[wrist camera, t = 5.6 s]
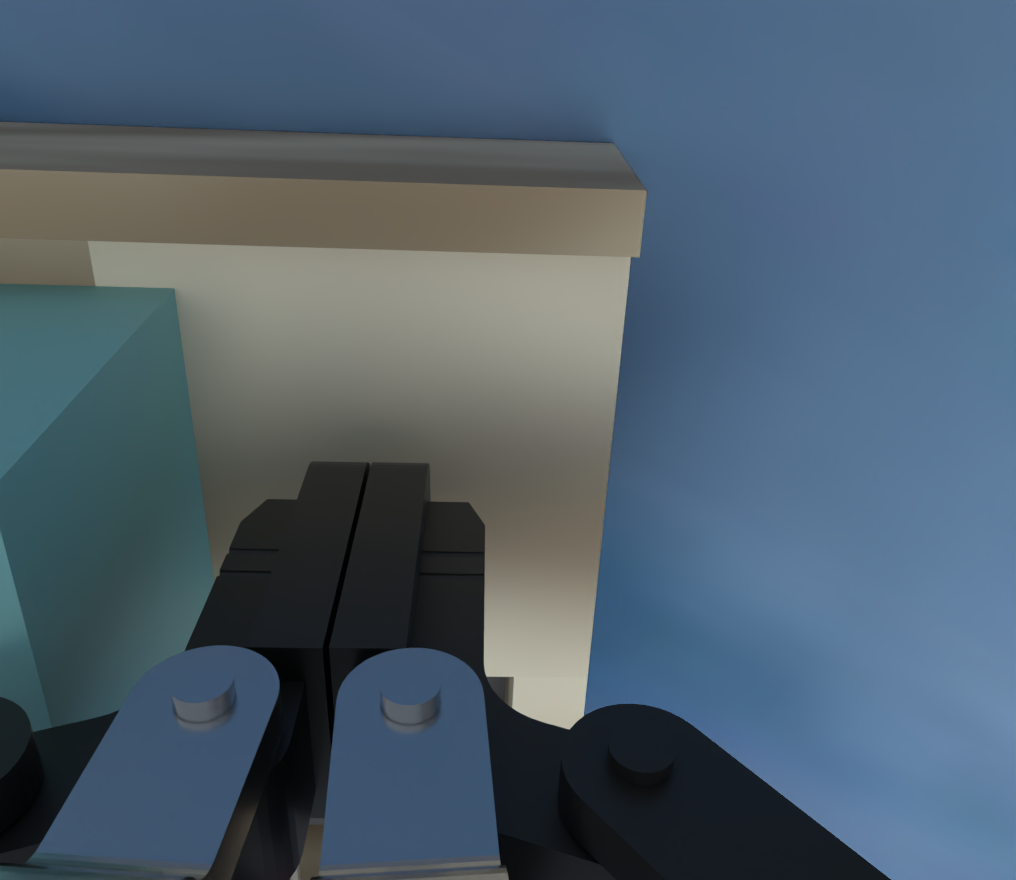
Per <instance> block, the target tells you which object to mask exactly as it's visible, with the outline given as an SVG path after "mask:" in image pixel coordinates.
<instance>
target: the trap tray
mask: <svg viewBox="0 0 1016 880" xmlns="http://www.w3.org/2000/svg"><path fill="white" fill-rule="evenodd" d="M646 194H647V190H646V188H645V187H644V186H643V184H642V183H641V181H640V180H639V178H638V177H637V176H636V174H635V173H634V171H633V170H632V168H631V167H630V166H629V164H628V163H627V161H626V160H625V158H624V157H623V156H622V154H621V153H620V151H619V150H618V148H617V147H616V146H615V144H614V143H594V142H566V141H538V140H509V139H481V138H452V137H424V136H395V135H367V134H338V133H310V132H282V131H253V130H225V129H196V128H168V127H139V126H111V125H83V124H54V123H26V122H0V284H35V285H72V286H108V287H144V288H174V291H175V298H176V305H177V313H178V320H179V327H180V334H181V342H182V349H183V356H184V364H185V371H186V378H187V386H188V393H189V400H190V407H191V415H192V422H193V429H194V437H195V444H196V451H197V459H198V466H199V473H200V480H201V488H202V495H203V502H204V510H205V517H206V524H207V532H208V539H209V546H210V554H211V561H212V568H213V575H214V582H215V579H216V577H217V576H219V574H220V571H219V570H220V568H221V566H222V563H223V561H224V559H225V556H226V554H229V547H230V545H231V543H232V540H233V538H234V536H235V533H236V531H237V529H238V527H239V524H240V522H241V521H242V520H243V519H244V518H246V517H247V516H248V515H249V514H250V513H251V512H253V511H254V510H255V509H256V508H257V507H259V506H260V505H261V504H262V503H263V502H264V501H266V500H267V499H297V498H298V495H299V492H300V489H301V486H302V483H303V480H304V478H305V475H306V472H307V469H308V466H309V464H310V462H312V461H328V462H369V464H370V467H371V464H372V462H394V463H429V465H430V497H431V502H469V503H470V505H471V506H472V507H473V509H474V510H475V512H476V513H477V514H478V516H479V517H480V519H481V520H482V522H483V523H484V524H485V594H484V669H485V674H486V677H487V680H488V682H489V684H490V686H491V687H492V689H493V690H494V692H495V693H496V694H497V695H498V696H499V698H500V699H502V700H503V701H504V702H505V703H506V704H507V705H508V706H510V707H511V708H513V709H515V710H516V711H518V712H519V713H521V714H523V715H525V716H528V717H530V718H532V719H535V720H538V721H541V722H544V723H547V724H551V725H555V726H558V727H562V728H566V729H569V730H570V729H571V727H572V726H573V725H574V724H575V723H576V722H577V721H578V720H579V719H581V718H582V717H583V716H584V707H585V697H586V687H587V678H588V668H589V658H590V649H591V639H592V629H593V620H594V610H595V600H596V591H597V581H598V571H599V562H600V552H601V542H602V533H603V523H604V513H605V504H606V494H607V484H608V475H609V465H610V455H611V446H612V436H613V426H614V417H615V407H616V397H617V388H618V378H619V368H620V359H621V349H622V339H623V330H624V320H625V310H626V301H627V291H628V281H629V272H630V262H631V257H640V250H641V241H642V231H643V222H644V213H645V203H646ZM324 820H325V818H310V821H309V826H308V831H307V835H306V840H305V845H304V850H303V854H302V857H301V860H300V864H301V878H302V880H310V879H311V877H318V874H319V868H320V861H321V851H322V841H323V830H324Z"/></svg>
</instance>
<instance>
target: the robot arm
mask: <svg viewBox="0 0 1016 880" xmlns="http://www.w3.org/2000/svg"><path fill="white" fill-rule="evenodd" d="M219 571H220V574H219V576H217V577H216V579H215V582H214V584H213V586H212V589H211V591H210V593H209V596H208V598H207V600H206V603H205V605H204V607H203V609H202V612H201V614H200V616H199V619H198V621H197V623H196V626H195V628H194V630H193V632H192V635H191V637H190V639H189V642H188V644H187V646H186V649H185V651H184V652H182V653H179V654H176V655H174V656H172V657H170V658H167V659H166V660H164V661H162V662H160V663H159V664H157V665H155V666H154V667H153V668H152V669H150V670H149V671H148V672H146V673H145V674H144V675H143V676H142V677H141V678H140V679H139V680H138V681H137V683H136V684H135V686H134V687H133V688H132V690H131V692H130V693H129V695H128V697H127V698H126V700H125V702H124V703H123V705H122V707H121V708H120V710H118V711H115V712H113V713H110V714H107V715H103V716H100V717H96V718H92V719H88V720H84V721H79V722H75V723H70V724H66V725H61V726H57V727H52V728H48V729H44V730H39V731H35V732H33V730H32V727H31V723H30V720H29V718H28V716H27V713H26V712H25V711H24V710H23V709H22V707H21V706H19V705H18V704H16V703H15V702H13V701H11V700H8V699H6V698H3V697H0V880H302V878H301V864H300V860H301V857H302V854H303V850H304V845H305V840H306V835H307V831H308V826H309V821H310V818H325V820H324V830H323V841H322V851H321V861H320V868H319V874H318V877H311V879H310V880H891V879H889V878H888V877H887V876H886V875H884V874H883V873H882V872H880V871H879V870H878V869H877V868H875V867H874V866H873V865H871V864H870V863H869V862H867V861H866V860H865V859H864V858H862V857H861V856H860V855H858V854H857V853H856V852H855V851H853V850H852V849H851V848H849V847H848V846H847V845H846V844H844V843H843V842H842V841H840V840H839V839H838V838H837V837H835V836H834V835H833V834H831V833H830V832H829V831H828V830H826V829H825V828H824V827H822V826H821V825H820V824H819V823H817V822H816V821H815V820H813V819H812V818H811V817H810V816H808V815H807V814H806V813H804V812H803V811H802V810H801V809H799V808H798V807H797V806H795V805H794V804H793V803H792V802H790V801H789V800H788V799H786V798H785V797H784V796H783V795H781V794H780V793H779V792H777V791H776V790H775V789H773V788H772V787H771V786H770V785H768V784H767V783H766V782H764V781H763V780H762V779H761V778H759V777H758V776H757V775H755V774H754V773H753V772H752V771H750V770H749V769H748V768H746V767H745V766H744V765H743V764H741V763H740V762H739V761H737V760H736V759H735V758H734V757H732V756H731V755H730V754H728V753H727V752H726V751H725V750H723V749H722V748H721V747H719V746H718V745H717V744H716V743H714V742H713V741H712V740H710V739H709V738H708V737H707V736H705V735H704V734H703V733H701V732H700V731H699V730H698V729H696V728H695V727H694V726H692V725H691V724H689V723H688V722H686V721H685V720H683V719H682V718H680V717H678V716H676V715H674V714H672V713H670V712H667V711H665V710H662V709H659V708H655V707H651V706H646V705H638V704H618V705H611V706H606V707H603V708H600V709H597V710H594V711H592V712H590V713H588V714H586V715H585V716H584V717H582V718H581V719H579V720H578V721H577V722H576V723H575V724H574V725H573V726H572V727H571V729H570V730H569V729H566V728H562V727H558V726H555V725H551V724H547V723H544V722H541V721H538V720H535V719H532V718H530V717H528V716H525V715H523V714H521V713H519V712H518V711H516V710H515V709H513V708H511V707H510V706H508V705H507V704H506V703H505V702H504V701H503V700H502V699H500V698H499V696H498V695H497V694H496V693H495V692H494V690H493V689H492V687H491V686H490V684H489V682H488V680H487V677H486V674H485V669H484V594H485V524H484V523H483V522H482V520H481V519H480V517H479V516H478V514H477V513H476V512H475V510H474V509H473V507H472V506H471V505H470V503H469V502H431V497H430V465H429V463H394V462H372V464H371V467H370V464H369V462H328V461H312V462H310V464H309V466H308V469H307V472H306V475H305V478H304V480H303V483H302V486H301V489H300V492H299V495H298V498H297V499H267V500H266V501H264V502H263V503H262V504H261V505H260V506H259V507H257V508H256V509H255V510H254V511H253V512H251V513H250V514H249V515H248V516H247V517H246V518H244V519H243V520H242V521H241V522H240V524H239V527H238V529H237V531H236V533H235V536H234V538H233V540H232V543H231V545H230V547H229V554H226V556H225V559H224V561H223V563H222V566H221V568H220V570H219Z"/></svg>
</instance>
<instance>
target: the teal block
mask: <svg viewBox="0 0 1016 880" xmlns="http://www.w3.org/2000/svg"><path fill="white" fill-rule="evenodd" d="M213 584H214V575H213V568H212V561H211V554H210V546H209V539H208V532H207V524H206V517H205V510H204V502H203V495H202V488H201V480H200V473H199V466H198V459H197V451H196V444H195V437H194V429H193V422H192V415H191V407H190V400H189V393H188V386H187V378H186V371H185V364H184V356H183V349H182V342H181V334H180V327H179V320H178V313H177V305H176V298H175V291H174V288H144V287H108V286H72V285H35V284H0V697H3V698H6V699H8V700H11V701H13V702H15V703H16V704H18V705H19V706H21V707H22V709H23V710H24V711H25V712H26V713H27V716H28V718H29V720H30V723H31V727H32V730H33V732H35V731H39V730H44V729H48V728H52V727H57V726H61V725H66V724H70V723H75V722H79V721H84V720H88V719H92V718H96V717H100V716H103V715H107V714H110V713H113V712H115V711H118V710H120V708H121V707H122V705H123V703H124V702H125V700H126V698H127V697H128V695H129V693H130V692H131V690H132V688H133V687H134V686H135V684H136V683H137V681H138V680H139V679H140V678H141V677H142V676H143V675H144V674H145V673H146V672H148V671H149V670H150V669H152V668H153V667H154V666H155V665H157V664H159V663H160V662H162V661H164V660H166V659H167V658H170V657H172V656H174V655H176V654H179V653H182V652H184V651H185V649H186V646H187V644H188V642H189V639H190V637H191V635H192V632H193V630H194V628H195V626H196V623H197V621H198V619H199V616H200V614H201V612H202V609H203V607H204V605H205V603H206V600H207V598H208V596H209V593H210V591H211V589H212V586H213Z"/></svg>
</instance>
